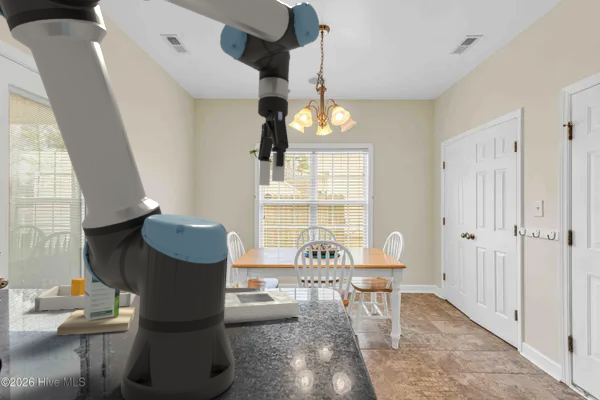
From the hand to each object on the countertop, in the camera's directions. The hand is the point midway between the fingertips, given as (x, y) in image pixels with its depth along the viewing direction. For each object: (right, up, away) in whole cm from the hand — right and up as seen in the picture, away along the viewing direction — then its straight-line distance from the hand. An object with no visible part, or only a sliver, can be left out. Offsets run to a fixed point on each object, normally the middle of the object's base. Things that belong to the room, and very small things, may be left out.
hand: (270, 183), depth 84 cm
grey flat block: (-4, -32, -2) cm, 32 cm away
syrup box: (-35, -29, -13) cm, 47 cm away
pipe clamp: (-47, -31, +4) cm, 56 cm away
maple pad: (-35, -30, -13) cm, 48 cm away
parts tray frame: (-47, -31, +4) cm, 56 cm away
